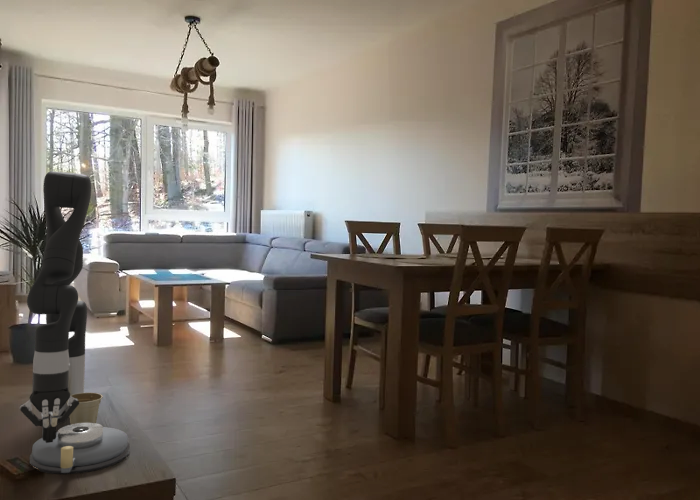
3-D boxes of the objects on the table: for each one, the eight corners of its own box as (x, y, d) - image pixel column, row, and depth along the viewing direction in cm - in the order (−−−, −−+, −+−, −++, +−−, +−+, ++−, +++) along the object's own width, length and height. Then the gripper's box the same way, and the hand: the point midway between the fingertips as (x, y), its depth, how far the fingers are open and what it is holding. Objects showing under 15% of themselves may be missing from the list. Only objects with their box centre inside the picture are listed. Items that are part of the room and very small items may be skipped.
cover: (54, 438, 140) (54, 426, 140) (98, 432, 146) (98, 419, 146) (60, 452, 132) (61, 438, 132) (106, 444, 138) (107, 431, 138)
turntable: (28, 442, 142) (29, 418, 142) (117, 429, 154) (118, 407, 154) (39, 482, 121) (39, 454, 120) (141, 463, 132) (142, 438, 132)
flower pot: (87, 435, 152) (88, 403, 152) (56, 432, 154) (57, 400, 154) (108, 424, 161) (109, 394, 161) (79, 421, 163) (80, 391, 163)
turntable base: (25, 448, 142) (25, 443, 142) (119, 433, 154) (119, 429, 154) (34, 481, 124) (34, 476, 124) (139, 462, 136) (139, 457, 136)
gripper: (79, 363, 142) (77, 432, 142) (17, 367, 134) (15, 441, 135) (84, 369, 135) (81, 442, 136) (19, 375, 128) (17, 451, 128)
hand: (48, 441), depth 135 cm, fingers closed
